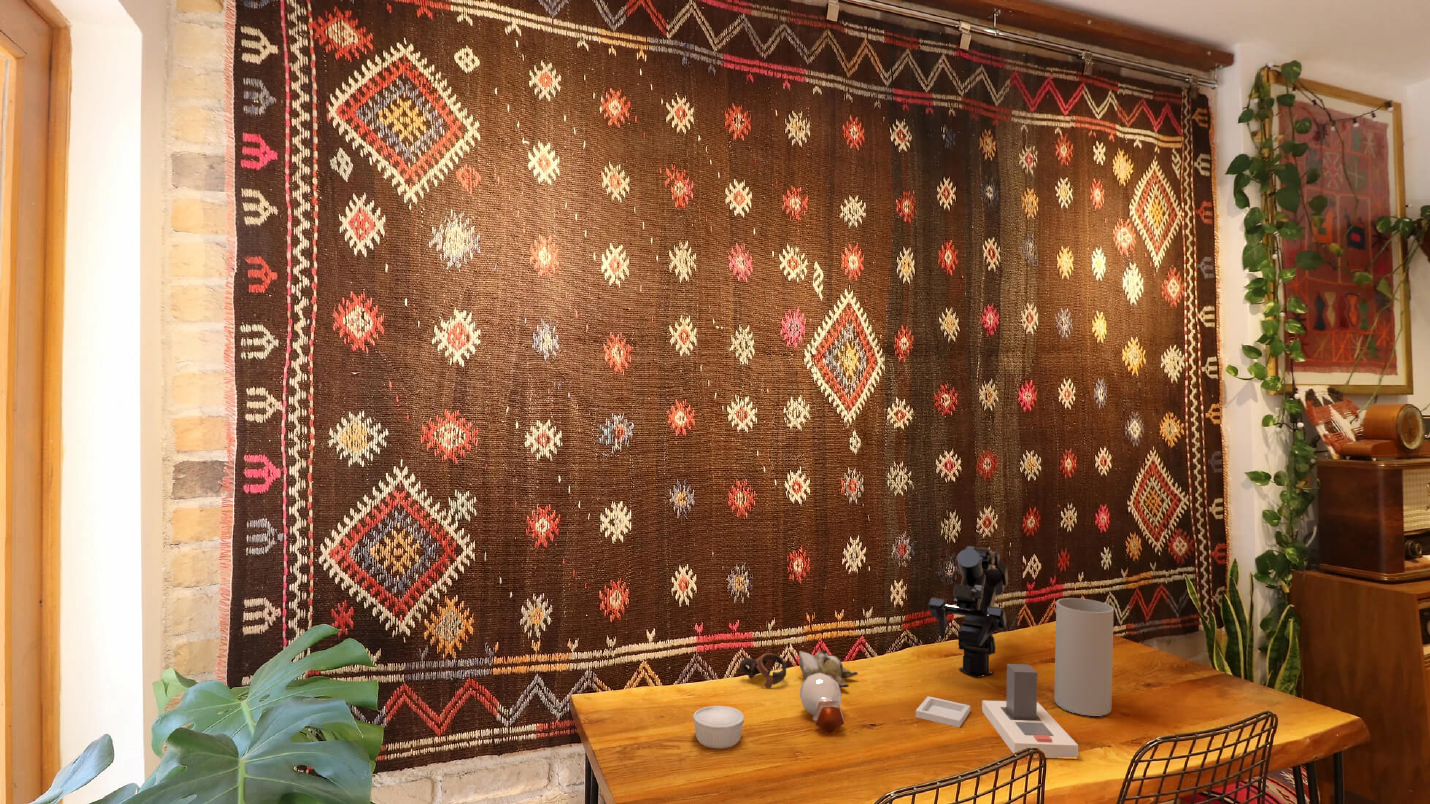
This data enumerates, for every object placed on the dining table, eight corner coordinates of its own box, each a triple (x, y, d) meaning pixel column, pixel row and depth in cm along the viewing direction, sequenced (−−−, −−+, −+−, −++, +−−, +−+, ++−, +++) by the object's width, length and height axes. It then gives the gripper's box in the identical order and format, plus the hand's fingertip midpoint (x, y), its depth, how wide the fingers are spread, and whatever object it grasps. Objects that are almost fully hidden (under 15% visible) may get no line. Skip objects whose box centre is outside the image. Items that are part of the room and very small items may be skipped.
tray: (927, 704, 184) (927, 696, 184) (969, 713, 179) (970, 705, 179) (915, 718, 176) (915, 710, 176) (959, 729, 170) (959, 720, 170)
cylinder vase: (1118, 720, 177) (1120, 614, 176) (1061, 715, 179) (1063, 610, 179) (1102, 699, 189) (1104, 600, 189) (1049, 694, 191) (1051, 596, 191)
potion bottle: (820, 710, 183) (834, 747, 168) (788, 688, 182) (799, 723, 167) (844, 680, 183) (860, 714, 167) (812, 657, 181) (826, 690, 166)
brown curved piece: (779, 674, 203) (788, 653, 200) (779, 703, 195) (790, 681, 191) (736, 664, 202) (745, 642, 199) (735, 692, 194) (744, 670, 190)
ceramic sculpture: (806, 638, 205) (860, 650, 199) (803, 670, 205) (857, 683, 199) (793, 651, 195) (849, 664, 189) (790, 683, 196) (847, 698, 190)
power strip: (982, 712, 180) (982, 697, 180) (1037, 714, 179) (1037, 699, 179) (1014, 757, 158) (1015, 740, 158) (1078, 759, 157) (1078, 742, 157)
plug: (1006, 719, 175) (1007, 663, 175) (1028, 720, 175) (1029, 664, 175) (1013, 729, 170) (1014, 671, 170) (1036, 729, 170) (1037, 672, 170)
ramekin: (714, 723, 172) (715, 700, 172) (754, 738, 165) (754, 714, 165) (682, 740, 163) (682, 716, 163) (722, 757, 156) (722, 731, 156)
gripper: (930, 566, 199) (917, 618, 190) (1005, 576, 189) (995, 632, 180) (938, 590, 206) (925, 641, 196) (1010, 600, 196) (1000, 655, 187)
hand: (960, 642), depth 190 cm, fingers open, 9 cm apart
